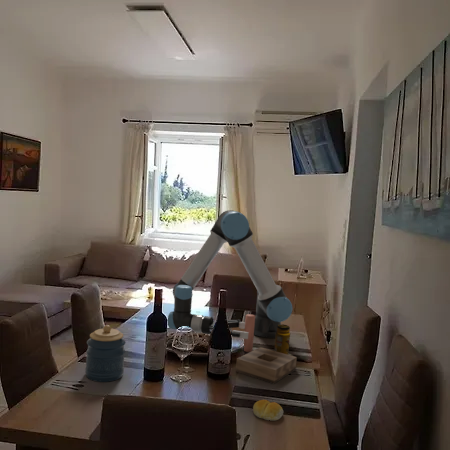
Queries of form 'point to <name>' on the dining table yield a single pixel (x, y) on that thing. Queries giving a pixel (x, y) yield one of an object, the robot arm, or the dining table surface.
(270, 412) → the bread roll
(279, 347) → the condiment
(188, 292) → the robot arm
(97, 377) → the canister
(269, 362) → the socket block
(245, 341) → the peg
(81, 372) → the dining table surface
